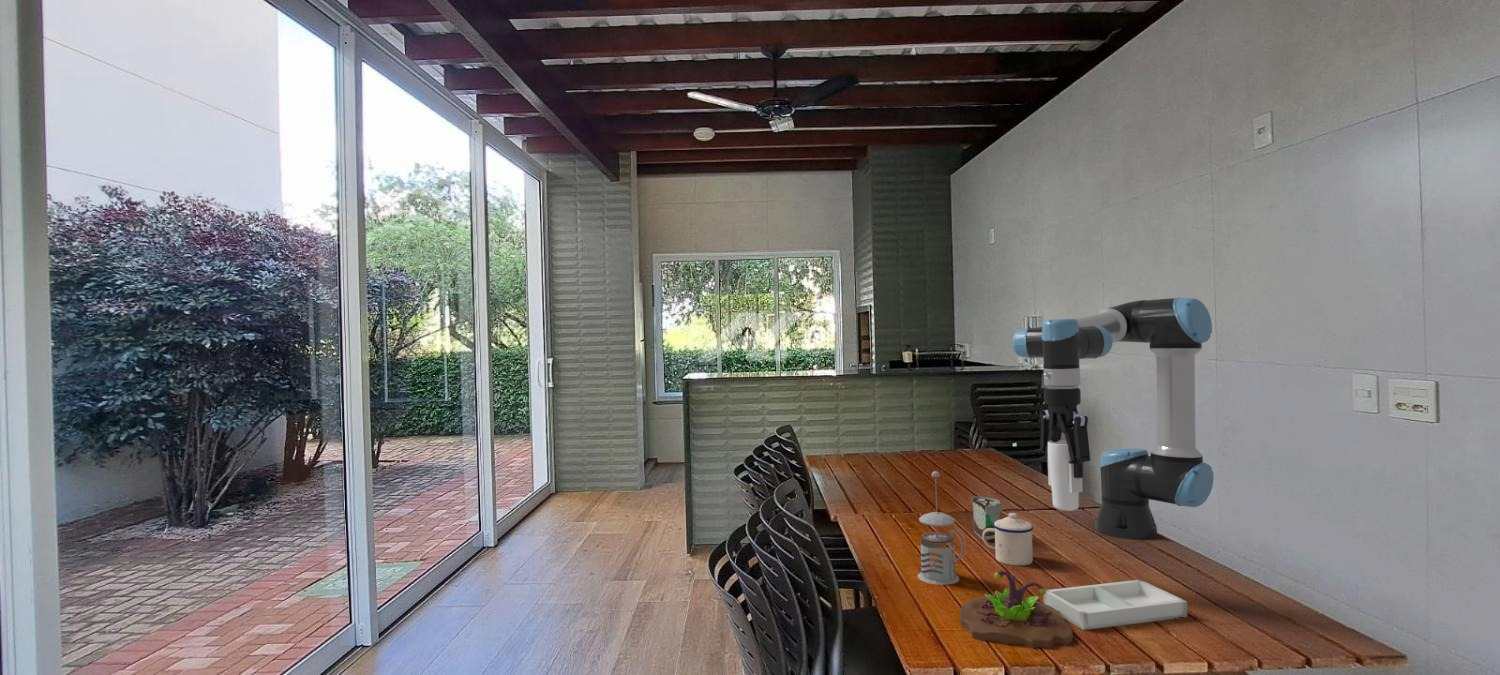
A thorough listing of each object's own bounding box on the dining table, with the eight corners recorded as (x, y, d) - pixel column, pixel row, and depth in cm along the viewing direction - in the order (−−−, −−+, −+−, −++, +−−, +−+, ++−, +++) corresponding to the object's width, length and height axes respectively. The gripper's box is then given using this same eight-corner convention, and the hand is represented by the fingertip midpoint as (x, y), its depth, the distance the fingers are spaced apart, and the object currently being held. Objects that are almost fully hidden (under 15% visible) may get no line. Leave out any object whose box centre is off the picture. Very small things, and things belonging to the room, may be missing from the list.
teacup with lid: (1036, 557, 168) (1034, 511, 168) (1031, 568, 160) (1029, 520, 160) (986, 550, 174) (985, 506, 174) (979, 561, 166) (978, 514, 166)
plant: (954, 605, 141) (953, 552, 141) (1053, 610, 138) (1052, 555, 137) (965, 649, 122) (964, 587, 122) (1081, 656, 118) (1079, 593, 118)
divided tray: (1140, 596, 142) (1140, 579, 142) (1187, 619, 131) (1186, 601, 131) (1043, 607, 138) (1043, 590, 138) (1083, 632, 126) (1082, 613, 126)
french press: (930, 567, 163) (927, 465, 163) (975, 579, 155) (972, 471, 155) (908, 579, 156) (905, 472, 156) (954, 591, 148) (951, 478, 148)
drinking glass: (1080, 513, 147) (1078, 445, 147) (1047, 510, 150) (1045, 443, 150) (1083, 506, 153) (1081, 440, 153) (1051, 503, 156) (1049, 439, 156)
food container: (1010, 543, 180) (1009, 506, 180) (987, 543, 180) (986, 506, 180) (994, 529, 192) (993, 495, 192) (972, 530, 192) (971, 495, 192)
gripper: (1021, 384, 160) (1024, 480, 160) (1076, 391, 141) (1079, 500, 141) (1049, 383, 162) (1052, 478, 162) (1107, 389, 142) (1110, 497, 143)
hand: (1065, 488), depth 152 cm, fingers closed on drinking glass, 7 cm apart
